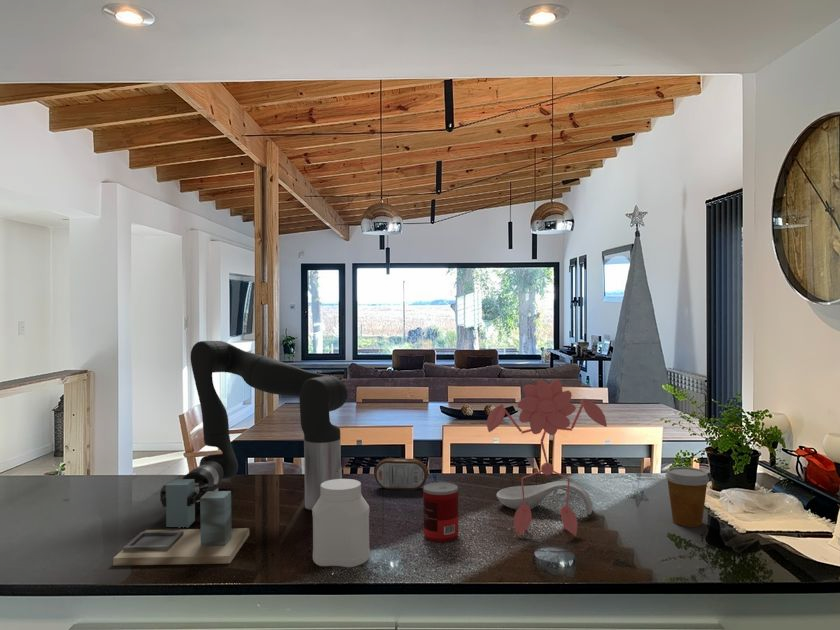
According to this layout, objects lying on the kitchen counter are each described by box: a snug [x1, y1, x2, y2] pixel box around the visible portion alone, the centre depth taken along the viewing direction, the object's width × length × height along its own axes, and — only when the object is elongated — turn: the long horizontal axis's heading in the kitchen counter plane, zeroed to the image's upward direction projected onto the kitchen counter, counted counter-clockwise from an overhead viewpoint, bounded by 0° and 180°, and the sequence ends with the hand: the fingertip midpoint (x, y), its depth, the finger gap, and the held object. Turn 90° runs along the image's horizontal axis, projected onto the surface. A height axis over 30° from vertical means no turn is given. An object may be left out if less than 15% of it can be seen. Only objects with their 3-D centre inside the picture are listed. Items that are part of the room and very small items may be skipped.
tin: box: [374, 457, 429, 491], centre depth 178 cm, size 15×3×8 cm, turn 84°
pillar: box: [165, 478, 196, 529], centre depth 150 cm, size 5×5×10 cm
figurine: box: [486, 378, 608, 554], centre depth 138 cm, size 15×26×35 cm, turn 85°
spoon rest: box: [495, 480, 593, 516], centre depth 160 cm, size 24×12×7 cm, turn 72°
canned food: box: [422, 481, 459, 543], centre depth 140 cm, size 8×8×11 cm
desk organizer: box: [112, 490, 250, 566], centre depth 134 cm, size 23×16×12 cm
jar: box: [311, 478, 371, 568], centre depth 129 cm, size 12×10×15 cm
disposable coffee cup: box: [664, 466, 710, 528], centre depth 148 cm, size 10×10×12 cm
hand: (176, 502), depth 147 cm, fingers closed on pillar, 5 cm apart
